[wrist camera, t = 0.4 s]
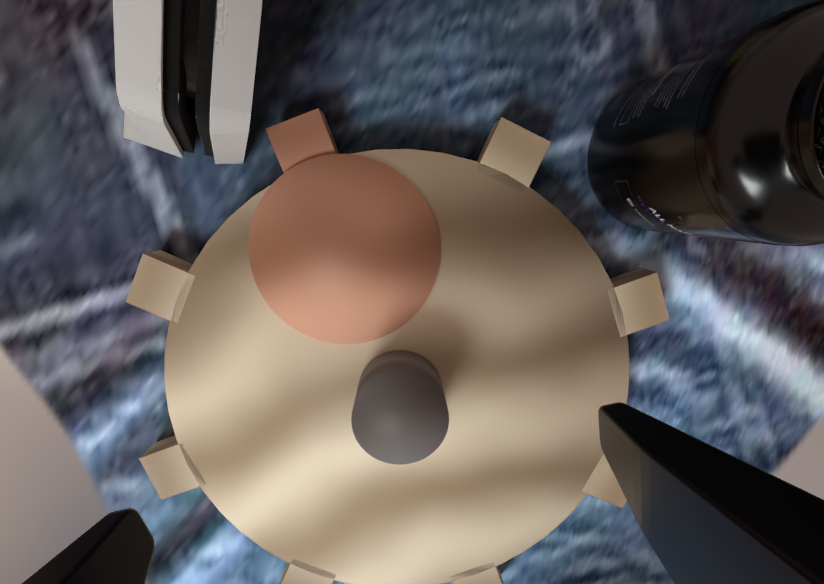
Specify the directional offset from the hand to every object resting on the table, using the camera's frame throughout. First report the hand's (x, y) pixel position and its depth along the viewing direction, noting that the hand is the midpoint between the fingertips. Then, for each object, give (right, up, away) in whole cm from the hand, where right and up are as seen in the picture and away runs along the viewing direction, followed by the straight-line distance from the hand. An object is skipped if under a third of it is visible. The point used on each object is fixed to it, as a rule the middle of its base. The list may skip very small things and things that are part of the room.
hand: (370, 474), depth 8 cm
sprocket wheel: (0, -1, +14) cm, 14 cm away
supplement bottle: (+12, +10, +13) cm, 20 cm away
